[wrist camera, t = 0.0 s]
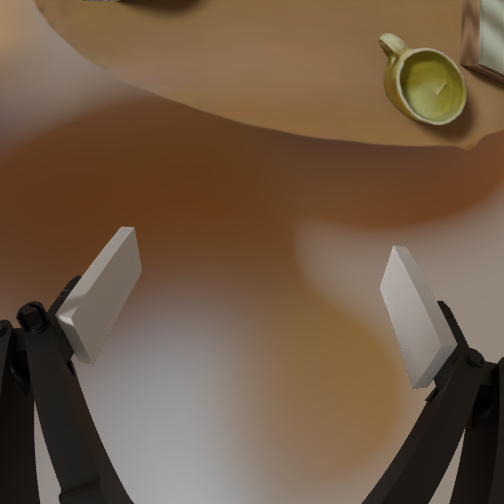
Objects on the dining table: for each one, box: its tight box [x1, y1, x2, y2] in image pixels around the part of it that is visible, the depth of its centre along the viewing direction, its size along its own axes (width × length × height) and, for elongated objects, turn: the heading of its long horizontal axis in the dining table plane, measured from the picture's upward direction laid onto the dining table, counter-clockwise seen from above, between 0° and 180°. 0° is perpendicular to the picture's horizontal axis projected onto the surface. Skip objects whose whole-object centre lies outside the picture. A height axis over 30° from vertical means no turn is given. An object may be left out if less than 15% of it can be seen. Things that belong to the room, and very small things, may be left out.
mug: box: [379, 33, 467, 125], centre depth 29 cm, size 12×10×10 cm
